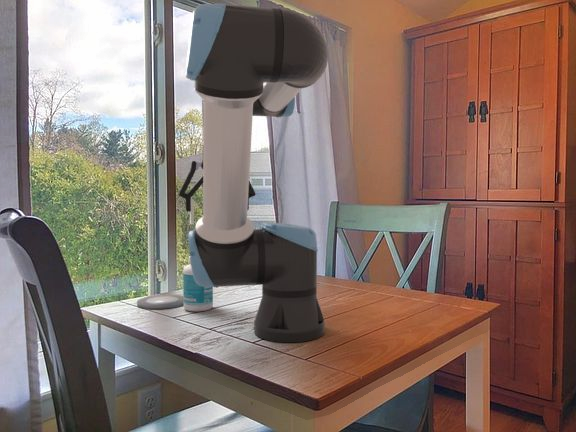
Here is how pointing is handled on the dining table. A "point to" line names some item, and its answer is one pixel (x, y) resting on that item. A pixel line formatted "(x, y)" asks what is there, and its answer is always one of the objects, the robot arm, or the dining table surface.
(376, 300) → the dining table surface
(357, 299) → the dining table surface
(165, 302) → the coaster
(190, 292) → the pill bottle
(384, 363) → the dining table surface
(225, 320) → the dining table surface
